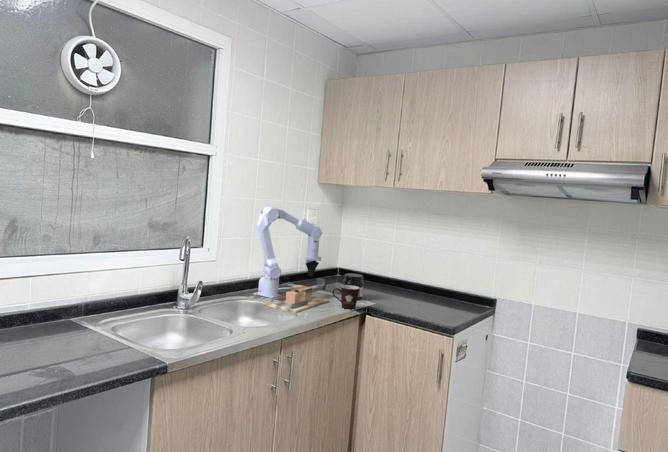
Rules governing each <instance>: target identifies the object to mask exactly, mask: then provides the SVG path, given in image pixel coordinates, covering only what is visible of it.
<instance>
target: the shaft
mask: <svg viewBox="0 0 668 452" xmlns="http://www.w3.org/2000/svg"><path fill="white" fill-rule="evenodd" d="M315 281H316V282H315V285H312V286H310V287H312V294H313V293H316V292H320V291H322V290H323V291H326V290H327V289H326V288H327V279H325V278H324V279H323V278H319V277H318V278H316V280H315ZM297 293H299V295H301V293H302V291H299V290H297Z"/></svg>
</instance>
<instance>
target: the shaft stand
mask: <svg viewBox="0 0 668 452" xmlns="http://www.w3.org/2000/svg"><path fill="white" fill-rule="evenodd" d="M297 290H299V291H302V293H301V295H299V300H298V302H297V303H293V304H291V303H287V302H286V295H283V296H278V297H275V298H271V300H270V301H267V302H264V305H263V306H265V307H269V308H274V309H277V310H282V311H287V312H290V313H298V312H301V311H304V310H308V309H311V308H314V307H317V306H320V305H323V304H326V303H329V302H330V299H327V298H323V297H318V296H313V293H312V287H311V286H306V285H301V284H296V285H291V287H290V291H292V292H297Z"/></svg>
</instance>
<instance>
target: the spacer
mask: <svg viewBox="0 0 668 452" xmlns="http://www.w3.org/2000/svg"><path fill="white" fill-rule="evenodd" d="M285 296H286V302H287V303H291V304H293V303H297V302H298V300H299V293H297V292H292V291H291V290H290V291H286V295H285Z"/></svg>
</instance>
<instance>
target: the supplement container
mask: <svg viewBox="0 0 668 452" xmlns="http://www.w3.org/2000/svg"><path fill="white" fill-rule="evenodd" d="M363 280H364V276H363V275H362V274H360V273H359V274H358V273H344V279H343V281H342V286H343V285H352V286H357V287H359V293H358V298H357V301H360V300H362V299H363V292H364V283H365V282H364V281H363Z"/></svg>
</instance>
